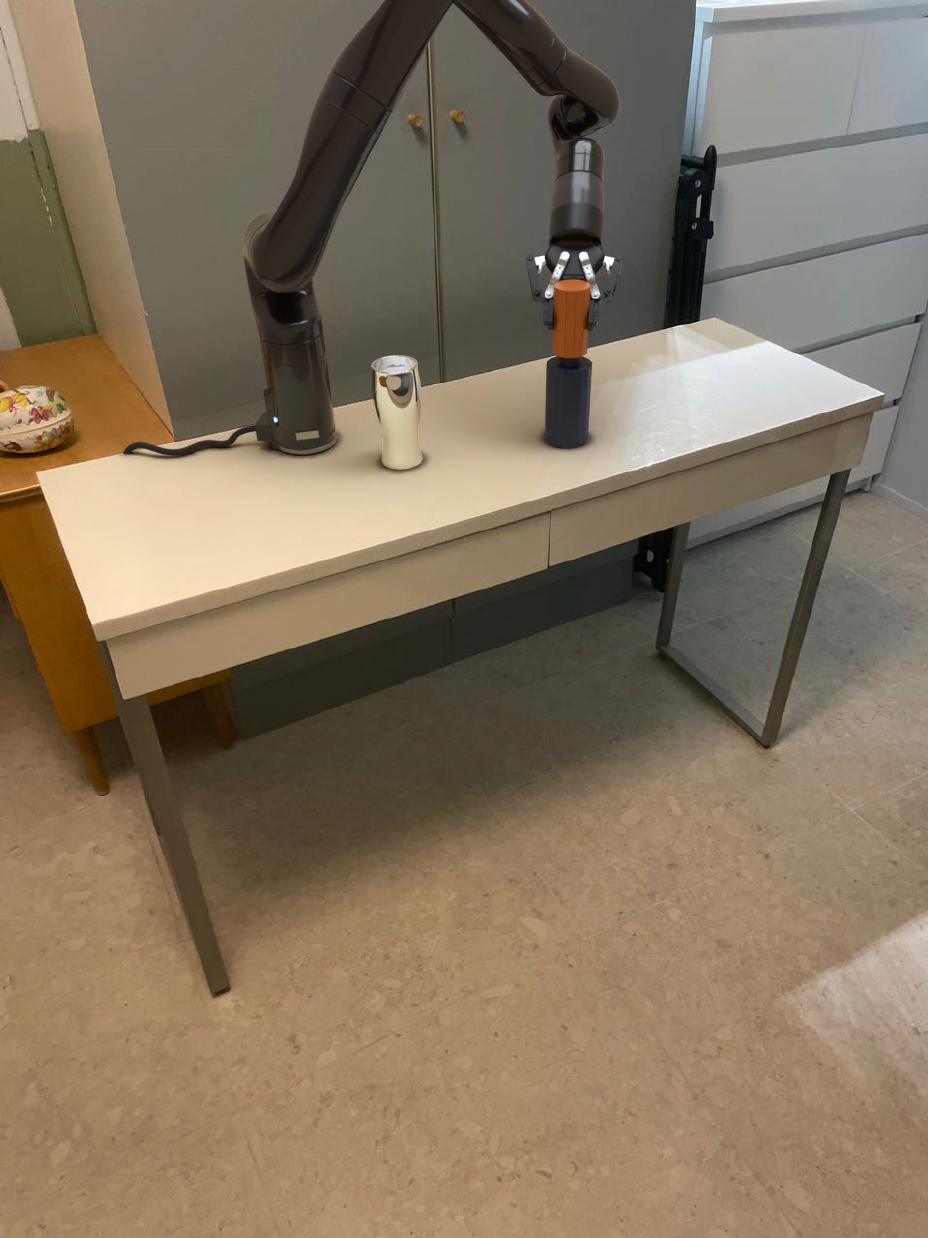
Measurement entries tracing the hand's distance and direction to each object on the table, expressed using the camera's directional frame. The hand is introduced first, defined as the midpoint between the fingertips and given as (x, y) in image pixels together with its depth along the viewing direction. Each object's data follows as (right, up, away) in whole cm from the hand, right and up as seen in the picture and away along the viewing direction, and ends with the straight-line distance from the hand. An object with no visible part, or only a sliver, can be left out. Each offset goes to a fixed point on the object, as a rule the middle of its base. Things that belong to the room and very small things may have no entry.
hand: (570, 327), depth 131 cm
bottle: (+1, -13, +12) cm, 18 cm away
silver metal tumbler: (-24, -17, +8) cm, 31 cm away
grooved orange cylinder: (0, -2, +4) cm, 4 cm away
